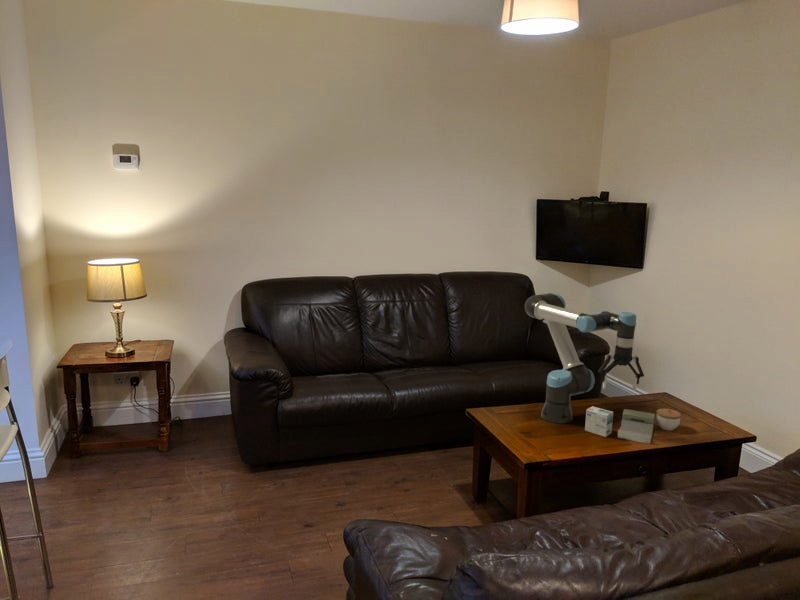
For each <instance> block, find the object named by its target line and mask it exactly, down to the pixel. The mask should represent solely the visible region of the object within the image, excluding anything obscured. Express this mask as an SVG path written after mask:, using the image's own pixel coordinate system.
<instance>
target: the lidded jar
mask: <svg viewBox="0 0 800 600" xmlns="http://www.w3.org/2000/svg"><path fill="white" fill-rule="evenodd" d="M681 417H682V414H681V413H680V412H679V411H677V410H674V409H671V408H659V409H657V410H656V421H657V424H658V426H659V427H660V429H662V430H664V431H674V430H675V429H676V428H677V427H679V425H680V422H681Z"/></svg>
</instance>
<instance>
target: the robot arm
mask: <svg viewBox="0 0 800 600" xmlns="http://www.w3.org/2000/svg"><path fill="white" fill-rule="evenodd" d="M524 311H525V313H526V314H527V315H528V316H529V317H530V318H534V319H535V320H536V319H537V320H542V323H544V324H546V325H547V327H548V329H549V333H550V335H551V338H552V340H553V343H554V346H555V348H556V351H557V353H558V357H559V358H560V359H559V360H560V361H561V364H562V367H563V368H562V369H556V370H551V371H550V372H549V373H548V374H547V379H546V389H545V390H546V391H545V392H546V393H545V402H544V405H543V407H542V409H541V414H540V417H541V418H542V419H543V420H545V421H546V422H549V423H553V424H569V423H570V422H572V421H573V418H574V417H573V416H574V415H573V411H572V407H571V396H577V395H580V394H585V393H587V392H590V391H591V390H592V389H593V388H594V385H595V381H596V380H595V374H594V373H593V371H592V370H590V369H589V368H587V367H586V365H585V363H583V362H582V361H580V359H579V356H578V353H577V351H576V349H575V345H574V343H573V340H572V338H571V335H570V333H569V330H568V328H567V326H569V327H571V328H572V327H573V328H576V329H577V330H578V331H579V332H581V333H592V332H596V331H601V330H602V331H603V330H611V331H615V332H616V339H615V347H614V355H611V354H607V355H606V358H605V360H604V361H603V362H602V364H601V365H600V367H599V369H598V370H597V372H598V374H599V375H601V378H600V379H601V382H602V388H603V390H606V388H607V379H608V373H609V372H611V371H612V370H614V368H615V367H617V366H619V367H621V366H624V367H626V366H628V367H629V369H630V370H631V372H632V373H634V375H633V383H632V390H633V392H636V391H637V385H639V383H640V379H641V378H644V377H645V375H644V372H643V368H642V367H641V364H640V358H639V356H638V355H635V356H633V347H634V342H635V341H634V339H635V333H636V332H635V331H636V326H637V315H636V314H635V313H634V312H628V311H620V313H619V314H618V313H613V312H610V311H608V310H607V311H605V310H599V311H598V312H597V313H595V314H588V313H584V312H580V311H577V310H572V309H568V308H566V301H565V299H564V297H562V295H560V294H558V293H557V292H556V293H555V292H554V293H552V292H549V293H543V294H542V293H541V294H534V295H531V296H530V297H529V296H528V298H527V299H526V301H525V303H524ZM611 360H613V361H612V362H611ZM632 361H633V362H635V363H634V364H635V365H636V368H637V370H638V372H639V373H638V372H637V370H636V369H635V368H634V366H633V364H631V362H632ZM610 362H611V363H610ZM609 363H610V364H609Z"/></svg>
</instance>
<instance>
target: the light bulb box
mask: <svg viewBox="0 0 800 600" xmlns="http://www.w3.org/2000/svg"><path fill="white" fill-rule="evenodd" d="M585 411H586V412H585V422H584V423H585V424H584V431H585V432H589V433H592V434H595V435H598V436H602V437H605V438H606V437H608V436H609V435H611V434H612V433H613V421H614V420H613V419H614V411H611V410H607V409H605V408H600V407H596V406H593V405H592V406H591V407H588V408H587V409H586V410H585Z"/></svg>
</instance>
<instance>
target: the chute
mask: <svg viewBox="0 0 800 600" xmlns="http://www.w3.org/2000/svg"><path fill="white" fill-rule="evenodd" d="M620 424H621V425H620V428H618V429H617V438H618V439H622V440H627V441H633V442H639V443H644V444H648V445H649V444H651V443H652V442H651V441H652V436H653V431H654V427H653V424H649V423H644V422H638V421H632V420H627V419H622V418H621V423H620Z"/></svg>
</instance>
